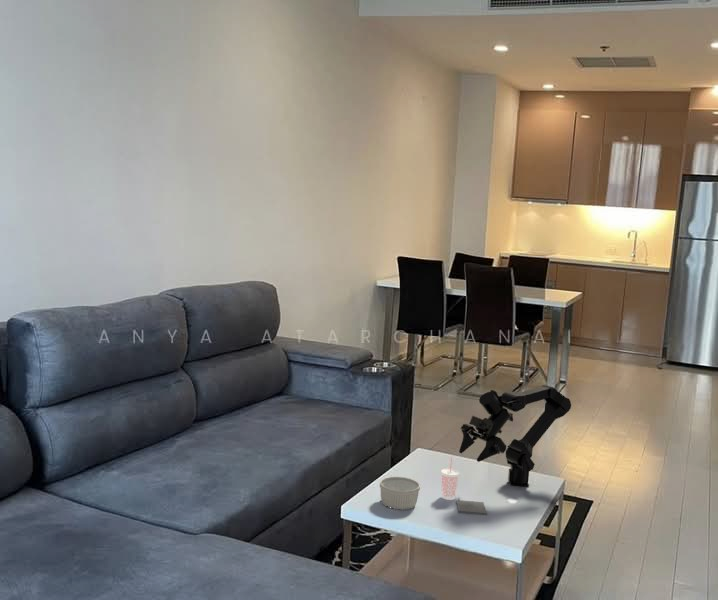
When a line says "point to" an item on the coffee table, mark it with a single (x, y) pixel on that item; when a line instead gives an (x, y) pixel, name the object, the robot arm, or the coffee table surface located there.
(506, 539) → the coffee table surface
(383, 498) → the ramekin
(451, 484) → the beverage cup
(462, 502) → the coaster
